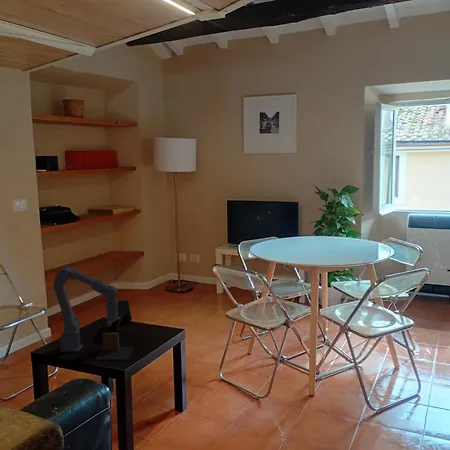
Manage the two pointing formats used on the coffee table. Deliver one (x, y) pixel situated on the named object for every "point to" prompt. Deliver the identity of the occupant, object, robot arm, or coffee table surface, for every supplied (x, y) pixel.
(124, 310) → the gun
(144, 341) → the coffee table surface
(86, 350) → the coffee table surface
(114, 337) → the tile
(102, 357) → the mat
